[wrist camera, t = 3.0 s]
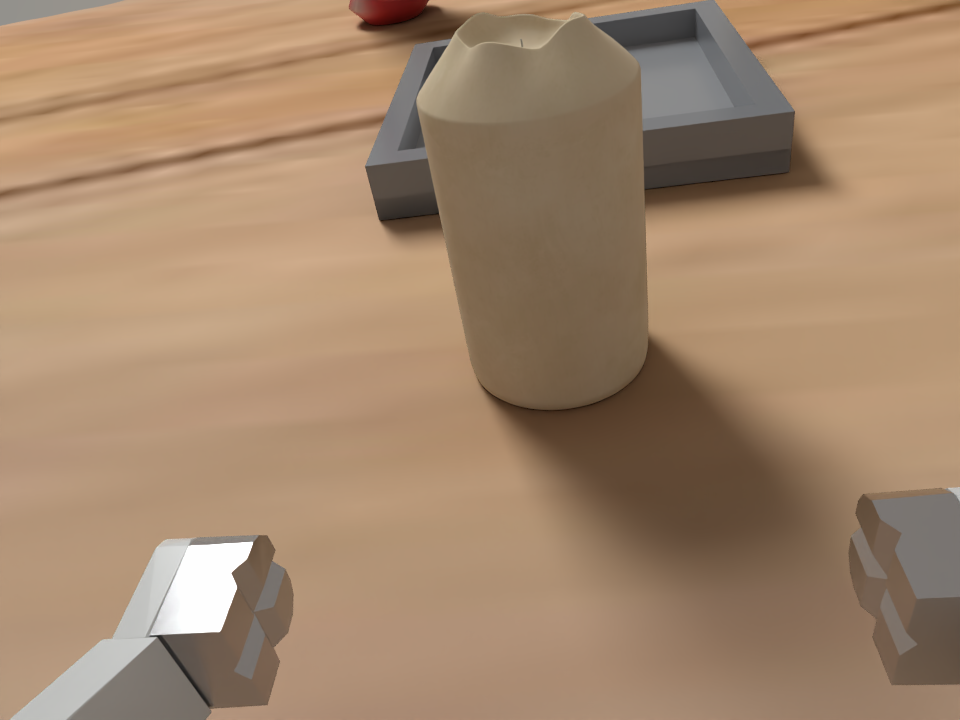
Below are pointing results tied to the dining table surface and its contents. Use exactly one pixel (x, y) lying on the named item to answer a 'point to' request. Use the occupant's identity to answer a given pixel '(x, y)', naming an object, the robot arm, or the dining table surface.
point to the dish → (665, 108)
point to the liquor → (387, 10)
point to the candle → (542, 204)
